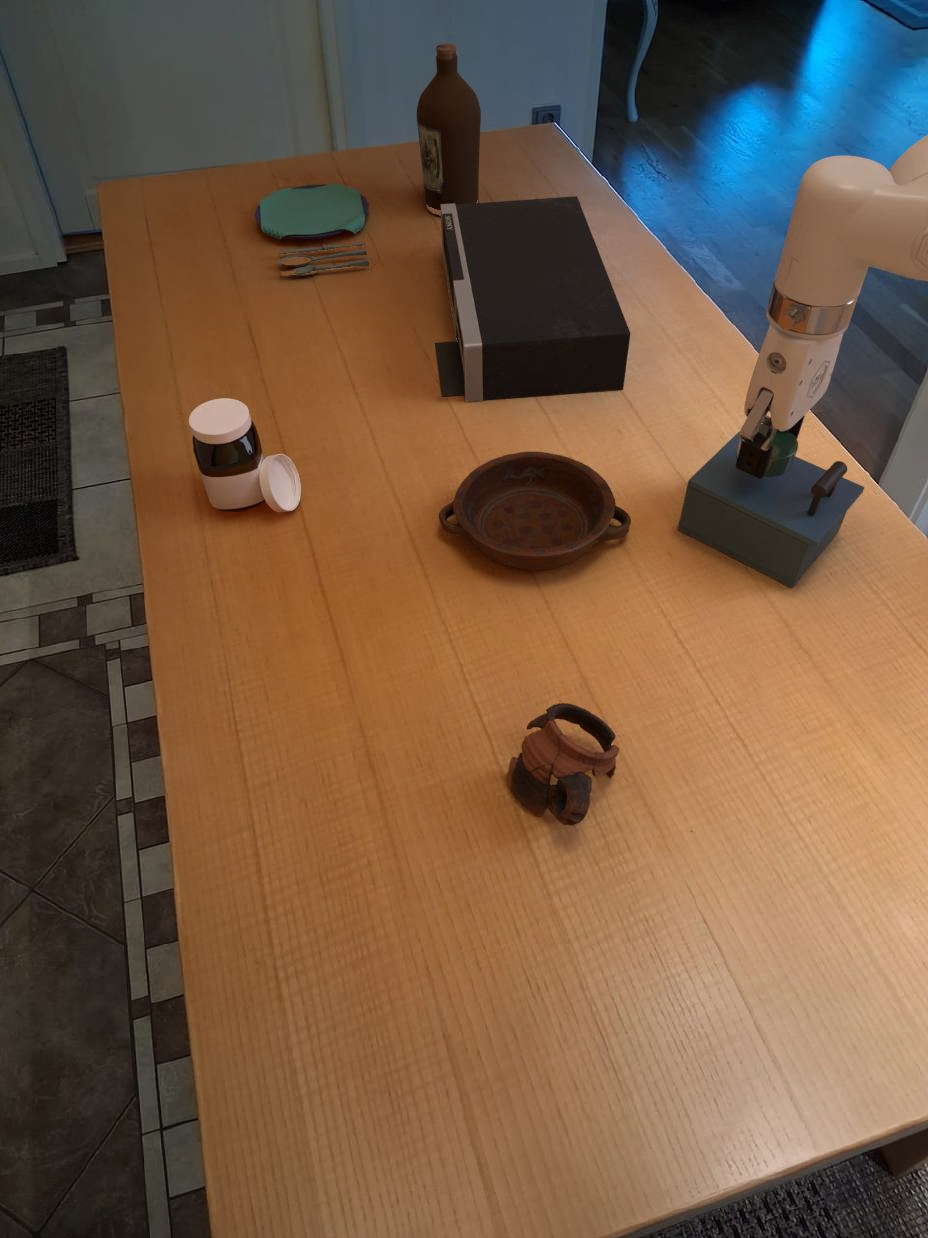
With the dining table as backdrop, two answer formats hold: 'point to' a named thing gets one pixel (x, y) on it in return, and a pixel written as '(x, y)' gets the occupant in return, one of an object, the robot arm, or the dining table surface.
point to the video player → (528, 303)
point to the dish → (534, 510)
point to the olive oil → (449, 134)
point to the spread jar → (239, 461)
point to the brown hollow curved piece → (560, 764)
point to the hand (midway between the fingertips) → (765, 455)
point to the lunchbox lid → (781, 493)
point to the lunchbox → (749, 538)
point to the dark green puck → (778, 451)
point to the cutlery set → (314, 219)
